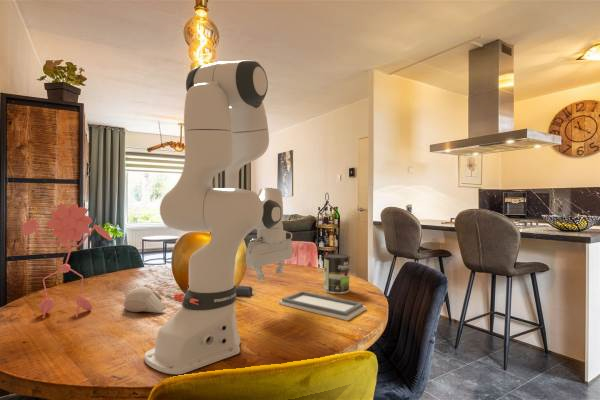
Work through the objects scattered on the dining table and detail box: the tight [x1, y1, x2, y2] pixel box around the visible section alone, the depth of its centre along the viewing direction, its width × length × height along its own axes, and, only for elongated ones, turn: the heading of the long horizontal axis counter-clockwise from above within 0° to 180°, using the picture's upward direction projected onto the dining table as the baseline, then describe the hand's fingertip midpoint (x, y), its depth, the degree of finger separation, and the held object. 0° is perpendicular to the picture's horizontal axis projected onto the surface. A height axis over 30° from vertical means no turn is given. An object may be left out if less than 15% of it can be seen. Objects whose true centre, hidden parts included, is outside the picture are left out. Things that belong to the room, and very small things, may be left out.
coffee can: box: [323, 253, 350, 295], centre depth 134 cm, size 10×10×14 cm
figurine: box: [21, 203, 112, 319], centre depth 107 cm, size 15×26×35 cm, turn 100°
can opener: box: [236, 285, 253, 297], centre depth 128 cm, size 19×6×5 cm
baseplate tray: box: [278, 290, 367, 322], centre depth 114 cm, size 13×27×2 cm, turn 54°
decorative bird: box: [123, 286, 167, 314], centre depth 108 cm, size 9×16×8 cm, turn 58°
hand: (270, 276), depth 114 cm, fingers open, 8 cm apart
